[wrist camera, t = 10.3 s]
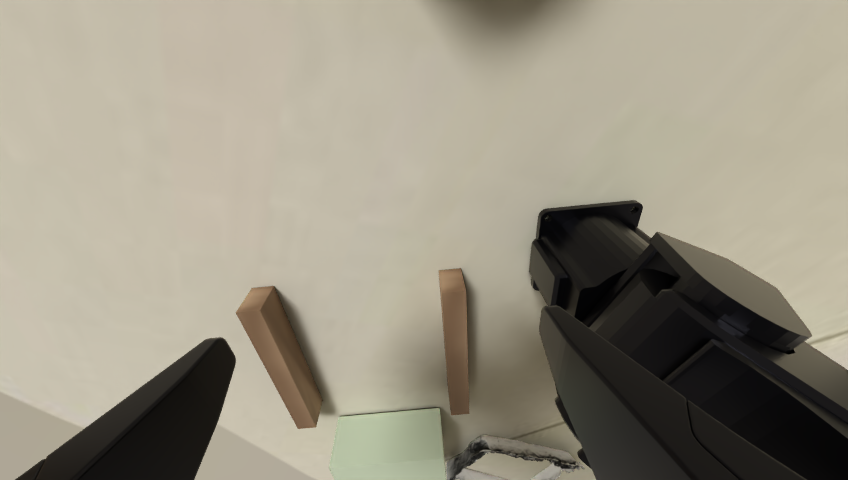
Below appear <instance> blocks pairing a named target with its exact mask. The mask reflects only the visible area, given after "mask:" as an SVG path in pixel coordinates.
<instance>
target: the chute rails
mask: <svg viewBox="0 0 848 480" xmlns="http://www.w3.org/2000/svg"><path fill="white" fill-rule="evenodd" d="M439 281H440V293H441V306H442V318H443V331H444V343H445V356H446V368H447V381H448V392H449V401H450V410H451V415H459V414H469V384H468V345H467V305H466V288H465V284H464V280H463V276H462V271H461V268H460V269H449V270H439ZM236 314H237V316H238V318H239V320H240V321H241V323H242V325H243V327H244V329H245V331H246V333H247V334H248V336H249V338H250V340H251V342H252V344H253V346H254V347H255V349H256V351H257V353H258V355H259V357H260V359H261V361H262V362H263V364H264V366H265V368H266V370H267V372H268V374H269V375H270V377H271V379H272V381H273V383H274V385H275V387H276V389H277V390H278V392H279V394H280V396H281V398H282V400H283V402H284V403H285V405H286V407H287V409H288V411H289V413H290V415H291V416H292V418H293V420H294V422H295V424H296V426H297V428H298V429H301V428H313V427H316V425H317V421H318V417H319V413H320V409H321V405H322V401H323V400H322V398H321V395H320V393H319V391H318V388H317V386H316V384H315V381H314V379H313V377H312V374H311V372H310V370H309V367H308V365H307V363H306V360H305V358H304V356H303V353H302V351H301V349H300V346H299V344H298V341H297V339H296V337H295V334H294V332H293V330H292V327H291V325H290V323H289V320H288V318H287V316H286V313H285V311H284V309H283V306H282V304H281V302H280V299H279V297H278V295H277V292H276V290H275V288H274V286H270V287H259V288H252V289H251V290H250V292H249V293H248V295H247V297H246V298H245V300H244V301H243V303H242V304H241V306H240V307H239V309H238V310H237V312H236Z"/></svg>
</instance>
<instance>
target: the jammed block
mask: <svg viewBox="0 0 848 480" xmlns="http://www.w3.org/2000/svg"><path fill="white" fill-rule="evenodd" d="M329 470H330V472H331V474H332V476H333V478H334V480H446V469H445V457H444V446H443V435H442V426H441V417H440V408H433V409H421V410H410V411H399V412H388V413H377V414H365V415H354V416H343V417H339V418H338V424H337V429H336V434H335V439H334V444H333V450H332V455H331V460H330V465H329Z"/></svg>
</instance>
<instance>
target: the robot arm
mask: <svg viewBox="0 0 848 480" xmlns="http://www.w3.org/2000/svg"><path fill="white" fill-rule="evenodd" d="M633 207H635V208H634V209H633V210H632V211H631V209H632V208H633ZM642 209H643V206H642V204H640V203H639V202H637V201H634V200H631V201H621V202H611V203H600V204H590V205H580V206H569V207H559V208H548V209H544V210H542V211H541V212H540V213H539V216H538V225H537V234H536V239H535V240H534V241H533V242H532V248H531V258H530V268H529V272H530V274H531V275H532V279H531V285H532V286H533V288H534V289H535V290H538V291H540V292H541V294H542V296H543V298H544V300H545V301H546V303H547V305H548V306H545V307H543V308H542V311H541V318H540V326H539V332H540V336H541V340H542V343H543V346H544V349H545V353H546V356H547V359H548V362H549V365H550V369H551V372H552V375H553V378H554V381H555V385H556V390H557V394H558V397H557V398H556V399H555V402H556V405H557V408H558V410H559V412H560V414H561V416H562V418H563V420H564V421H565V423H566V424H567V426H568V427H569V429H570V430H571V432H572V433H573V435H574V436H575V437H576V439H577V440H578V441H579V442H580V443H581V445H582V448H581V449H580V450H579V451H578V457H579V458H580V459H581V460H582V461H583V462H584V463H585V464H586V465H587V466H589V467H590V468H591V469H592V471H593V473H594V475H595V477H596V480H848V370H847V369H845V368H844V367H842V366H841V365H839V364H838V363H836V362H835V361H833V360H832V359H830V358H829V357H827V356H826V355H824V354H823V353H821V352H820V351H818V350H817V349H815V348H813V347H812V346H810V345H809V344H807V343H806V342H804V341H806V340H807V339H809V338H810V337H811V336H812V334H811V332H810V331H809V329H808V328H807V327H806V325H805V324H804V323H803V321H802V320H801V319H800V318H799V316H798V315H797V314H796V312H795V311H794V310H793V308H792V307H791V306H790V304H789V303H788V302H787V301H786V299H785V298H784V297H783V295H782V294H781V293H780V291H779V290H778V289H777V288H776V287H774V286H773V285H771V284H769V283H768V282H766V281H764V280H763V279H761V278H759V277H758V276H756V275H754V274H752V273H751V272H749V271H747V270H746V269H744V268H742V267H741V266H739V265H737V264H736V263H734V262H732V261H730V260H729V259H727V258H724V257H722V256H719V255H717V254H714V253H711V252H709V251H706V250H704V249H701V248H698V247H696V246H693V245H691V244H688V243H686V242H683V241H680V240H678V239H675V238H673V237H670V236H667V235H665V234H662V233H660V232H656V233H655V235H654V236H653V237H652V238H650V237H649V236H648V235H646V234H645V233H644V232H642V231H641V230H640V229H639V228H637V226H638V223H639V219H640V216H641V213H642ZM547 215H550V217H549V218H548V219H544V218H545V217H546V216H547ZM235 363H236V358H235V355H234V353H233V352H232V350H231V348H230V347H229V345H228V343H227V342H226V340H225V339H224V338H221V337H219V338H209V339H206V340H204V341H203V342H202V343H200V344H199V345H197V346H196V347H195V348H193V349H192V350H191V351H189V352H188V353H187V354H185V355H184V356H183V357H181V358H180V359H178V360H177V361H176V362H174V363H173V364H172V365H170V366H169V367H168V368H166V369H165V370H164V371H162V372H161V373H159V374H158V375H157V376H155V377H154V378H153V379H151V380H150V381H149V382H147V383H146V384H145V385H143V386H142V387H140V388H139V389H138V390H136V391H135V392H134V393H132V394H131V395H130V396H128V397H127V398H126V399H124V400H123V401H121V402H120V403H119V404H117V405H116V406H115V407H113V408H112V409H111V410H109V411H108V412H107V413H105V414H104V415H102V416H101V417H100V418H98V419H97V420H96V421H94V422H93V423H92V424H90V425H89V426H88V427H86V428H85V429H83V430H82V431H81V432H79V433H78V434H77V435H75V436H74V437H73V438H72V439H70V440H69V441H67V442H66V443H64V444H63V445H62V446H60V447H59V448H58V449H56V450H55V451H54V452H52V453H51V454H50V455H48V456H47V458H46V459H43V460H41V461H40V462H38V463H37V464H36V465H35V466H33V467H32V468H31V469H29V470H28V471H26V472H25V473H24V474H23V475H21V476H20V477H18V478H17V479H15V480H194V479H195V476H196V474H197V471H198V469H199V467H200V464H201V462H202V459H203V456H204V454H205V452H206V449H207V447H208V445H209V442H210V440H211V437H212V435H213V432H214V430H215V427H216V425H217V422H218V419H219V417H220V414H221V411H222V407H223V404H224V401H225V397H226V394H227V391H228V387H229V384H230V381H231V377H232V374H233V371H234V368H235Z"/></svg>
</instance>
